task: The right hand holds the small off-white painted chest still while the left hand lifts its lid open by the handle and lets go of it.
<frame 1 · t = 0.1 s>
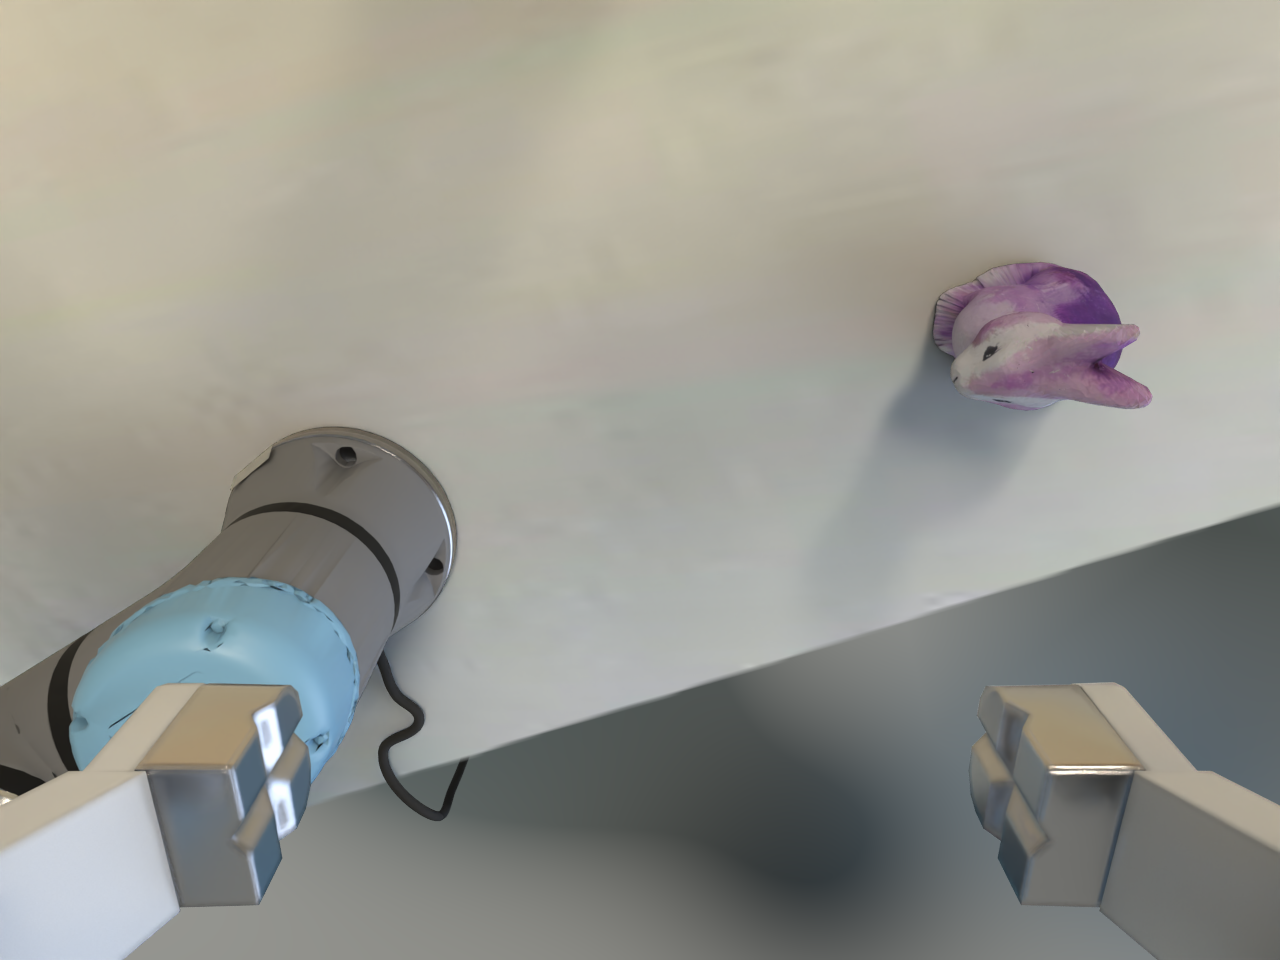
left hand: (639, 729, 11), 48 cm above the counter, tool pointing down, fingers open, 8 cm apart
figurine: (999, 327, 57), on the counter
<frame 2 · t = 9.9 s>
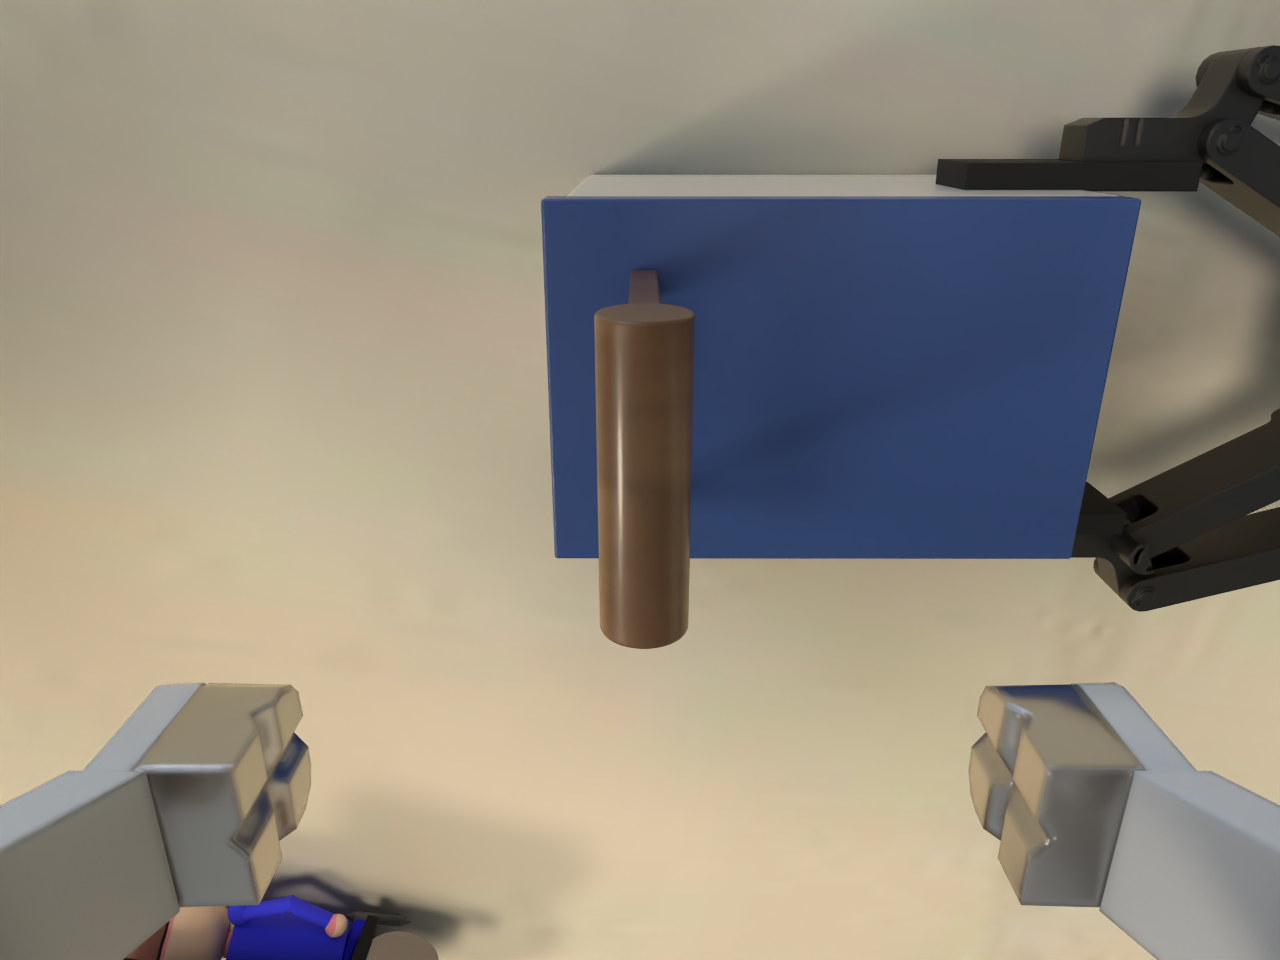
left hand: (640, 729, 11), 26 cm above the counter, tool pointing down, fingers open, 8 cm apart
right hand: (929, 352, 28), fingers closed on chest, 10 cm apart
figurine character: (301, 912, 46), on the counter
chest: (775, 309, 35), on the counter, touching right hand
lid: (851, 430, 21), point 15 cm above the counter, hinge at 0.0°
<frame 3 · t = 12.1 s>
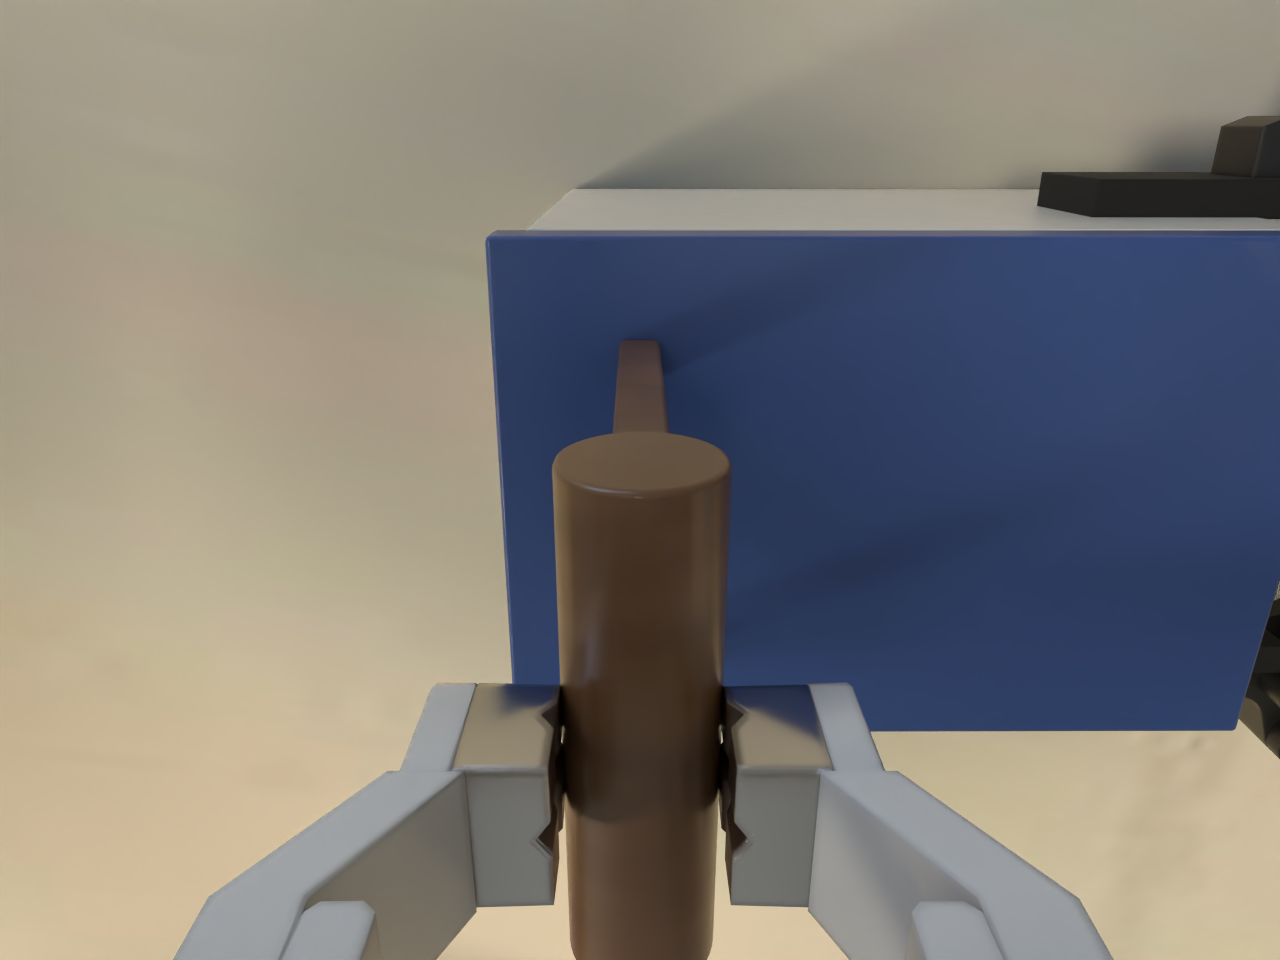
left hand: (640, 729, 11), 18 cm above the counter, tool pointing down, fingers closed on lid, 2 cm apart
chest: (808, 358, 27), on the counter, touching right hand
lid: (959, 594, 14), point 15 cm above the counter, hinge at 0.5°, touching left hand
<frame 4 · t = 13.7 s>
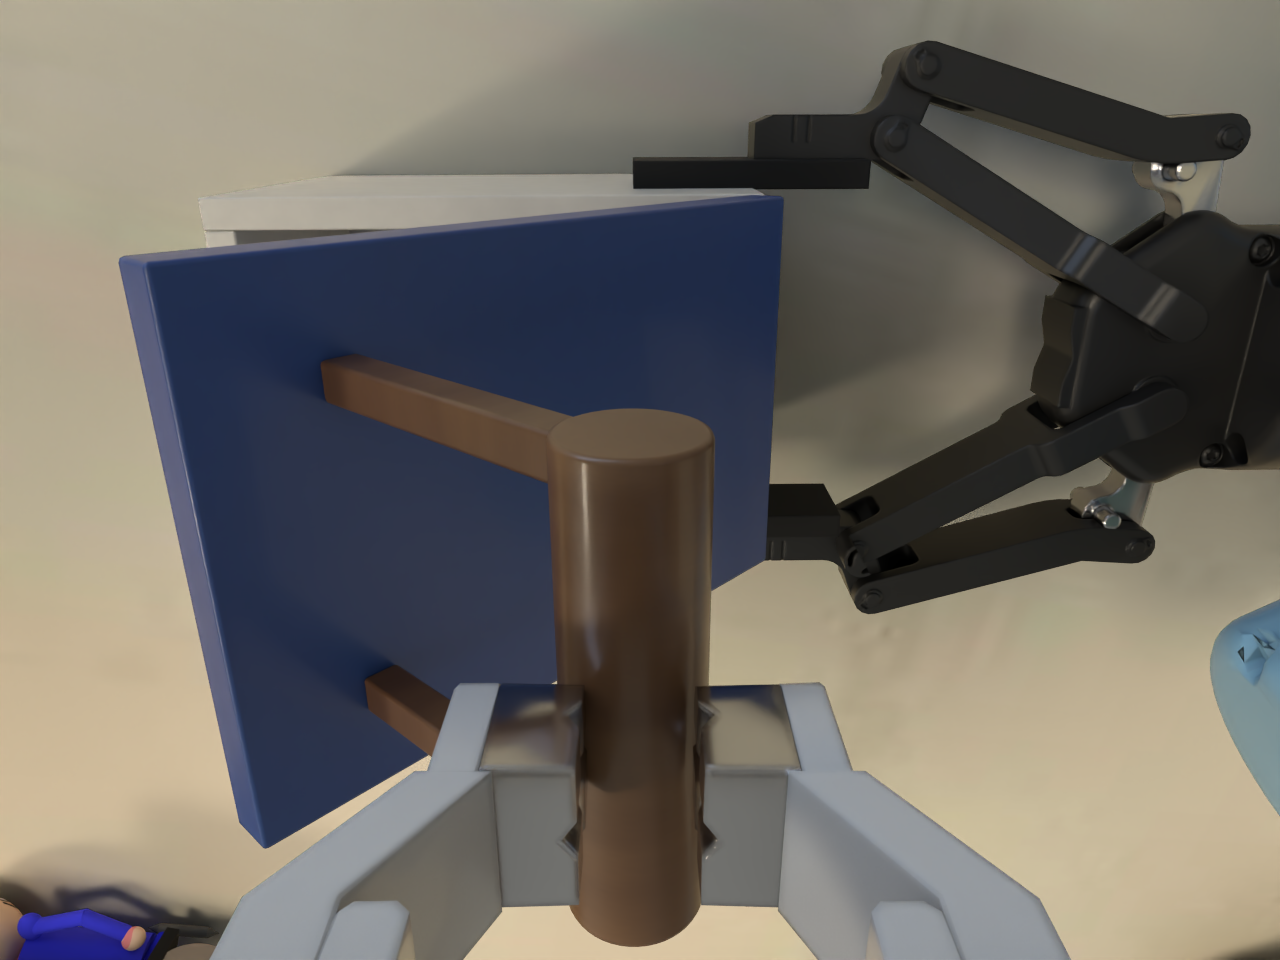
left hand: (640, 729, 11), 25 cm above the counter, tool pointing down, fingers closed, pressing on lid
right hand: (634, 354, 28), fingers closed on chest, 10 cm apart
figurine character: (107, 925, 46), on the counter
chest: (532, 310, 34), on the counter, touching right hand
lid: (686, 506, 17), point 19 cm above the counter, hinge at 46.7°, touching left hand
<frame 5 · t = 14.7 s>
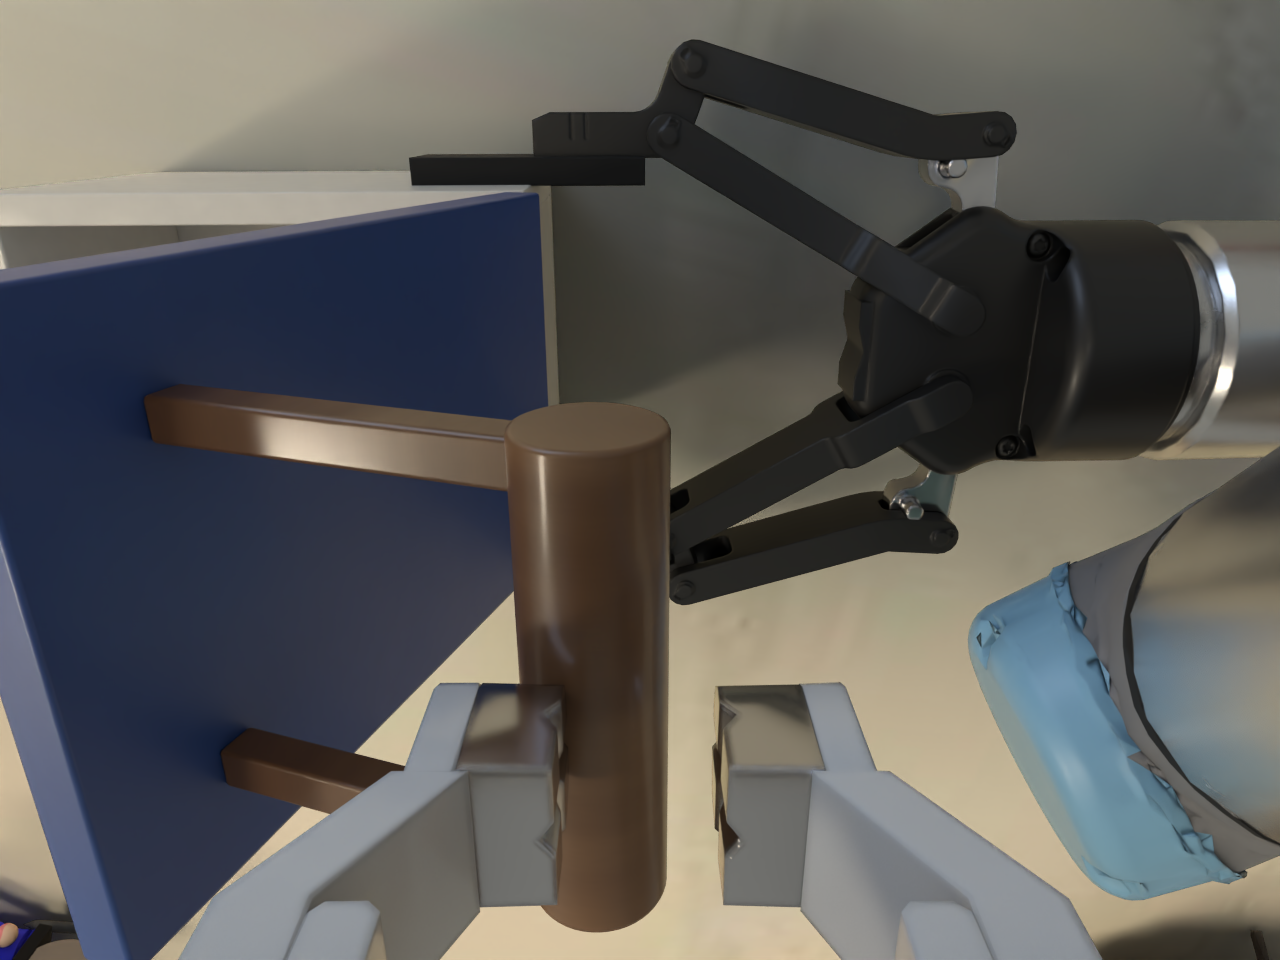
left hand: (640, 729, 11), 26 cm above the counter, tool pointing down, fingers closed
right hand: (436, 349, 28), fingers closed on chest, 10 cm apart
chest: (369, 306, 35), on the counter, touching right hand
lid: (534, 502, 17), point 19 cm above the counter, hinge at 69.0°, touching left hand
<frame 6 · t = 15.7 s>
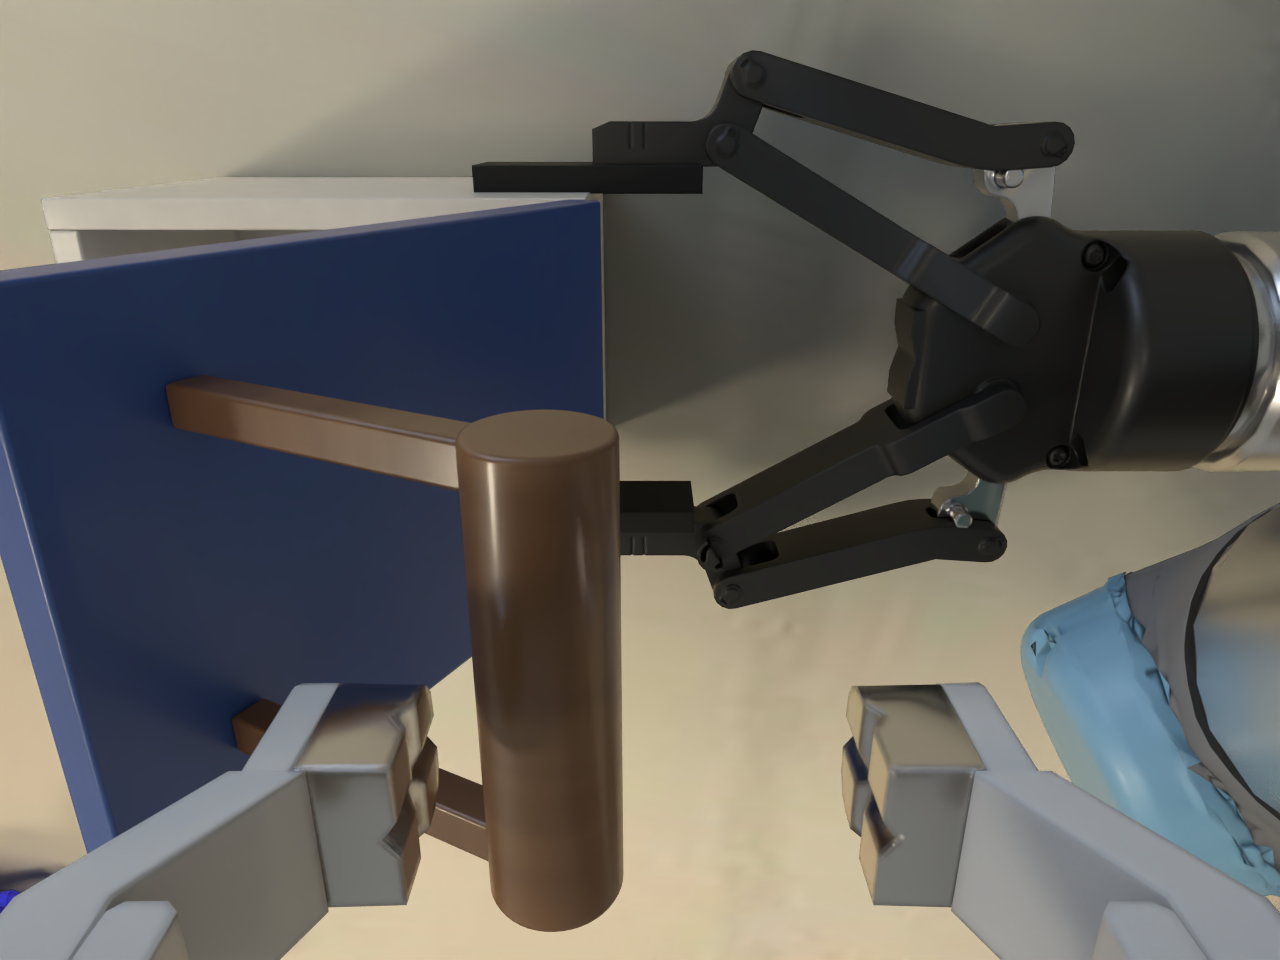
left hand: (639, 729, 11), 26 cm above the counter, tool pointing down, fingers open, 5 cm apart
right hand: (491, 352, 29), fingers closed on chest, 10 cm apart
chest: (422, 310, 35), on the counter, touching right hand
lid: (550, 504, 17), point 19 cm above the counter, hinge at 62.1°
when the right hand's fingers open (7 cm above the counter, at t = 18.9 s): chest stays where it is, on the counter.
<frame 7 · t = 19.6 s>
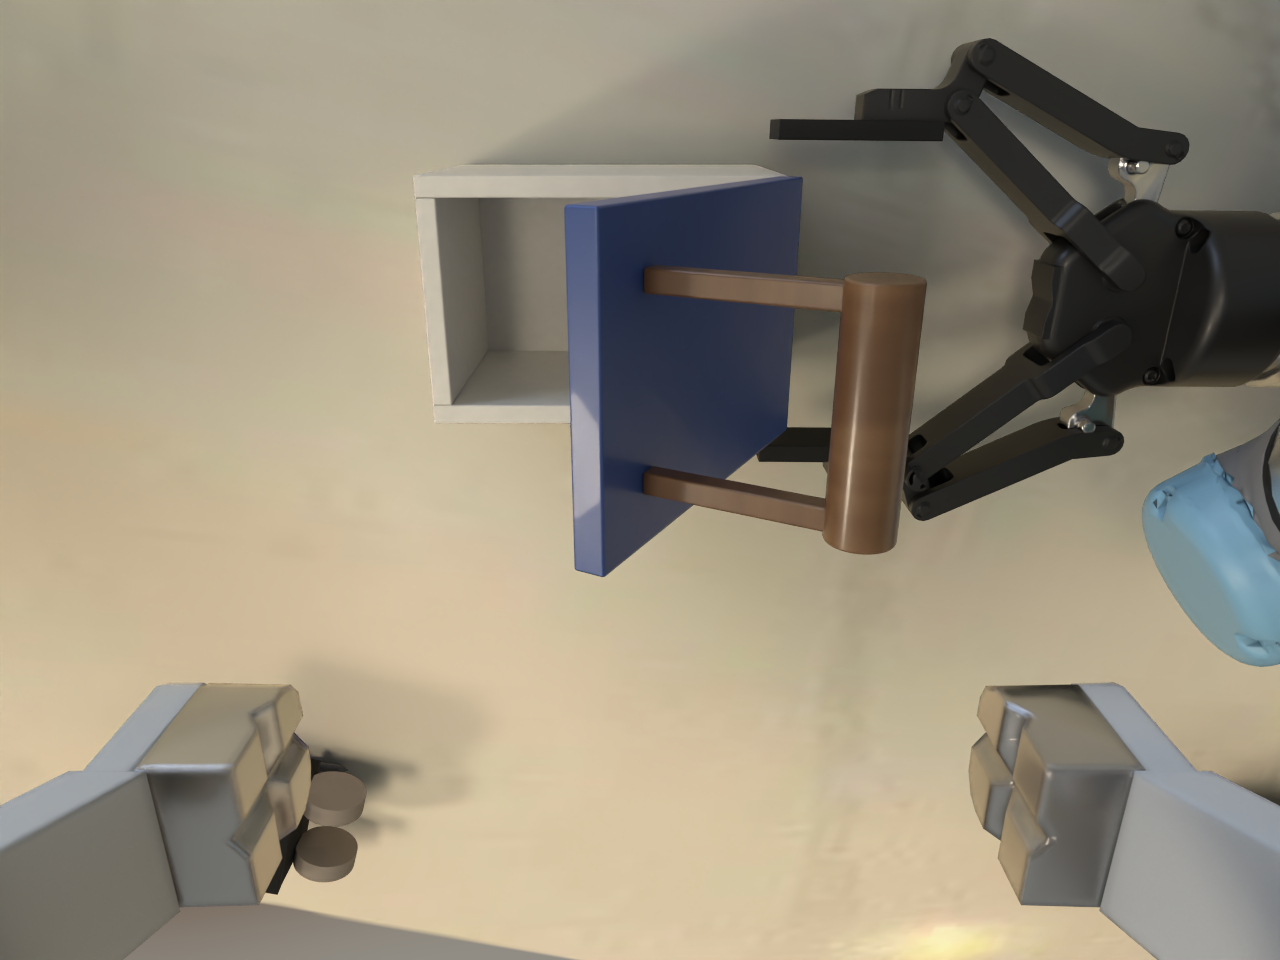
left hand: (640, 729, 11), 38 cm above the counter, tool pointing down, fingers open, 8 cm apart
right hand: (763, 296, 39), fingers open, 13 cm apart
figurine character: (259, 763, 57), on the counter
chest: (610, 267, 46), on the counter
lid: (811, 359, 28), point 19 cm above the counter, hinge at 61.5°
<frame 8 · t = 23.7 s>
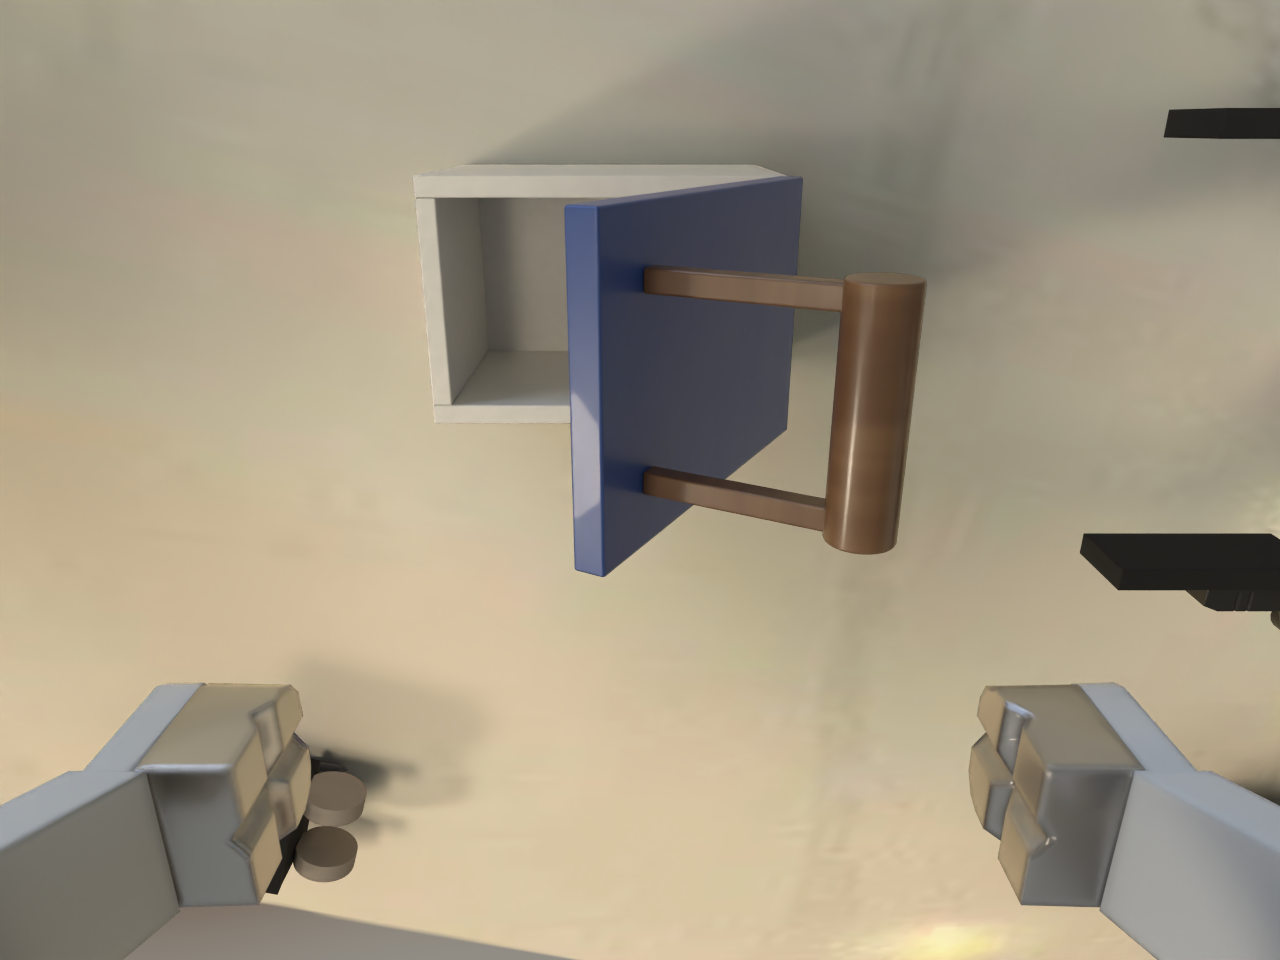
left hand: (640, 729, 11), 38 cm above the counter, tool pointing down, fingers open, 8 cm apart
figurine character: (259, 763, 57), on the counter
chest: (610, 267, 46), on the counter
lid: (811, 359, 28), point 19 cm above the counter, hinge at 61.5°
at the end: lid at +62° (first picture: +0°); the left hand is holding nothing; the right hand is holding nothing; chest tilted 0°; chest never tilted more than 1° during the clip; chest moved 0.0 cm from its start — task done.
